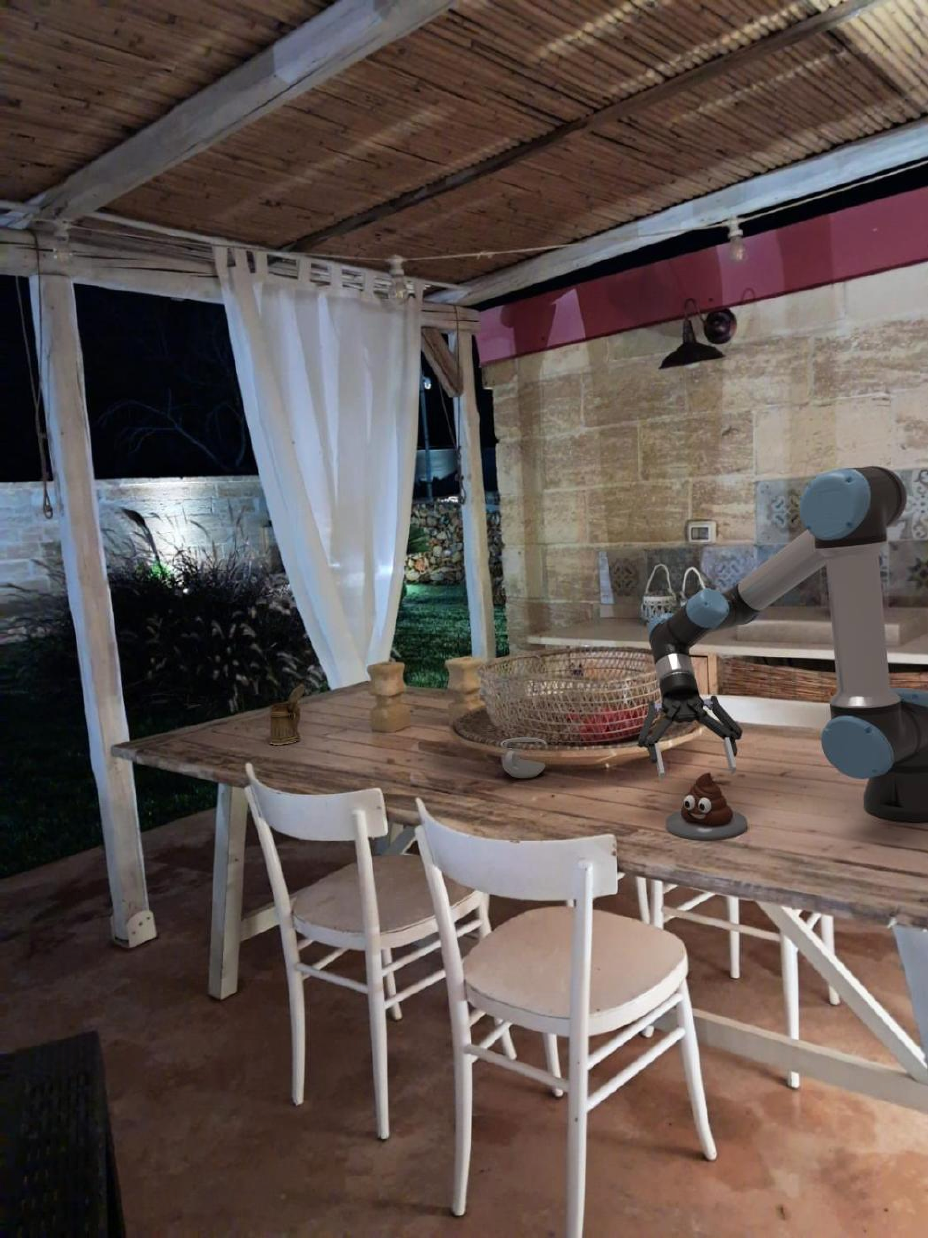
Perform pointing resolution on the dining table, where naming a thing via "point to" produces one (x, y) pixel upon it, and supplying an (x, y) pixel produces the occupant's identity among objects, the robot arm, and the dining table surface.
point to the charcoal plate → (705, 828)
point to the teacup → (521, 760)
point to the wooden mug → (286, 718)
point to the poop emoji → (706, 803)
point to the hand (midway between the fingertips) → (697, 773)
